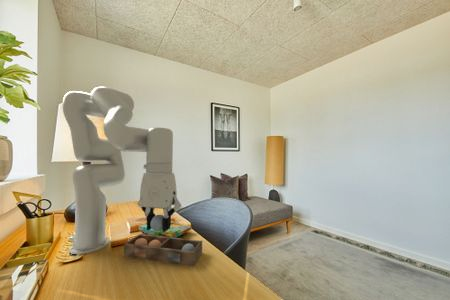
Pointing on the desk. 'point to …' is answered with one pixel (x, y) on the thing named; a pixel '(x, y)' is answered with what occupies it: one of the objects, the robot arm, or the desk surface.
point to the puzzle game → (172, 232)
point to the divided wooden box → (164, 250)
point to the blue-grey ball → (188, 247)
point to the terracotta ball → (154, 243)
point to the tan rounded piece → (141, 242)
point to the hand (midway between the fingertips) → (158, 228)
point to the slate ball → (157, 222)
